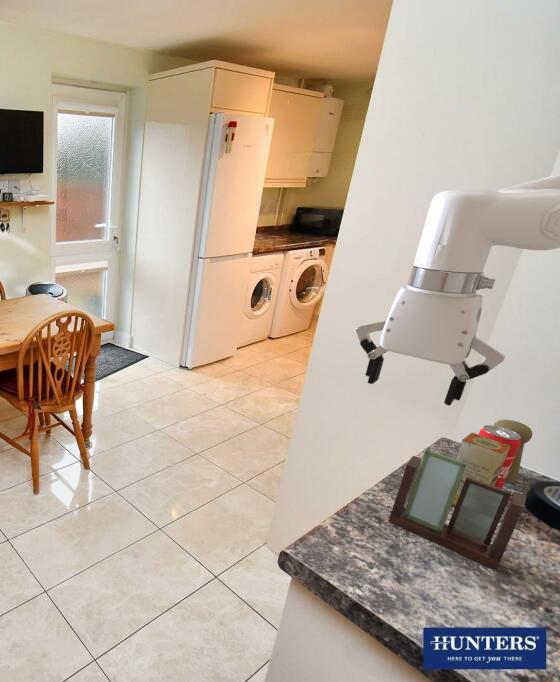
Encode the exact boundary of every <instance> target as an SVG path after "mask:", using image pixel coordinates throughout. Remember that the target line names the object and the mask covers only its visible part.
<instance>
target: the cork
mask: <svg viewBox="0 0 560 682" xmlns="http://www.w3.org/2000/svg"><path fill="white" fill-rule="evenodd" d="M492 426H498V427H502V428H506V429H508V430H511V431H513V432H515V433H517V434H518V435H519V436H520V441H521V443H520V446H519V448H518V451H517V453H516V455H515V458H514V460H513V463H512V465H511V467H510V470H509V472H508V475H507V477H506V480H505V482H504V483H508V484H509V483H510V484H512V483H516V482H518V478H519V473H520V468H521V463H522V458H523V454H524V453H523V452H524V448H525V447H524V446H525V444H526V443H528V442H530V441H531V439H532V438H533V430H532V428H530V427H529V426H528V425H526V424H524V423H522V422H519V421H515V420H511V419H499V420H497V421H496V422H494V424H493V425H492Z"/></svg>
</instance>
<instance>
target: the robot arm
mask: <svg viewBox="0 0 560 682" xmlns="http://www.w3.org/2000/svg"><path fill="white" fill-rule="evenodd" d="M493 246H503V247H510V248H515V249H520V250H528V251H551V250H556V249H560V173H558V174H554V175H550V176H546V177H545V176H544V177H542V178H538V179H535V180H530V181H526V182H523V183H519V184H515V185H511V186H508V187H505V188H501V189H497V190H489V189H447V190H443V191H440V192H437V194H435V195H434V196H433V197H432V200H431V202H430V204H429V207H428V211H427V214H426V218H425V222H424V224H423V230H422V232H421V237H420V240H419V243H418V247H417V251H416V253H415V257H414V261H413V265H412V268H411V271H410V275H409V279H408V282H407V284H404V285H402V286H401V287H400V289H399V291H398V292H397V294H396V296H395V299H394V301H393V303H392V305H391V307H390V310H389V313H388V315H387V316H386V320H383V321H378V322H375V323H370V324H365V325H360V326H358V327H357V328H356V329H355V333H356V335H357V338H358V340H359V345H360V347H361V348H362V349H363V351H364V352H365V353H366V355H367V358H368V359H369V361H368V363H367V367H366V371H365V376H366V377H368V379H367V384H370V385H372V384H373V385H374V384H375V383H376V382H377V381H378V380H379V379H380V374H381V371H382V368H383V364H384V361H385V358H384V356H383V355H384V354H386V353H388V352H390V353H395V354H399V355H404V356H406V357H407V356H408V357H412V358H417V359H420V360H424V361H429V362H434V363H439V364H443V365H444V364H445V365H448V366H449V367H450V368H451V370H452V371H453V373H454V376H453V378H452V379H451V381H450V383H449V387H448V390H447V392H446V396H445V399H444V402H443V404H445V405H446V406H449V407H450V406H451V405H452V404H453V402H454V400H455V401H460V400H461V398H462V395H463V393H464V391H465V387H466V384H467V382H468V381H470V380H472V379H475V378H477V377H480V376H483V375H486V374H487V373H488V372H490V371H491V370H493V369H494V368H496V367H497V366H498V365H500V364H501V363H503V362H504V360H505V358H506V356H505V355H504V354H503V353H502V352H500V351H499V350H497V349H495V348H493V347H492V346H491V345H489V344H488V343H487V342H484V341H483V340H482V339H480V338H479V337H477V336H476V335H477V331H478V328H479V323H480V321H481V320H480V319H481V315H482V309H483V297H484V296H483V295H482V294H479V293H477V292H478V291H480V290H485V289H489V290H493V288H494V286H495V283H496V279H495V278H489V277H488V276H486V275H485V274H484V270H485V266H486V265H487V264H486V263H487V261H488V259H489V255H490V252H491V249H492V247H493ZM376 332H381V335H380V338H379V344H380V345H379V346H377V345H376V344H375V343H374V341H373V340H372V339H371V336H370V334H372V333H376ZM472 350H474V351H475V352H476V353H478V354H480V355H481V356H483V357H484V358H485V360H483V361H482V362H480V363H479V364H475V365H473V366H471V367H470V366H469V364H468V363H467V361H466V360H465V359H468V358H469V355H470V353H471V351H472Z"/></svg>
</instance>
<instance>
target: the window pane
mask: <svg viewBox="0 0 560 682" xmlns="http://www.w3.org/2000/svg"><path fill="white" fill-rule="evenodd" d="M421 459H422V460H421V463H420V466H419V469H418V472H417V475H416V478H415V481H414V484H413V487H412V490H411V493H410V496H409V499H408V502H407V505H406V509H405V512H404V515H403V516H405V517H407V518H409V519H412V520H414V521H416V522H419V523H421V524H423V525H425V526H428V527H430V528H432V529H435V530H437V531H439V532H442V530H443V527H444V524H445V523H446V522H447V519H448V517H449V513H450V511H451V508H452V505H453V504H452V503H453V500H454V497H455V495H456V492H457V489H458V487H459V484H460V481H461V479H462V476H463V473H464V471H465V468H466V465H467V463H465V462H462V461H460V460H457V459H456V458H454V457H451V456H449V455H448V456H447V455H445V454H441V453H438V452H436V451H433V450H430V449H428V448H425V450H424V452H423V456H422V458H421Z"/></svg>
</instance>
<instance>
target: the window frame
mask: <svg viewBox="0 0 560 682" xmlns="http://www.w3.org/2000/svg"><path fill="white" fill-rule="evenodd" d="M421 461H422V458H421V457H418V456H415V455H412V456H411V457H410V459H409V461H408V462H407V463H406V465H405V469H404V472H403V475H402V478H401V481H400V483H399V487H398V490H397V493H396V496H395V499H394V503H393V505H392V509H391V512H390V515H389V518H388V523H391V524H392V525H395V526H398V527H400V528H402V529H404V530H406V531H408V532H410V533H413V534H415V535H417V536H419V537H421V538H424V539H426V540H428V541H430V542H433V543H435V544H437V545H439V546H441V547H444V548H446V549H448V550H451V551H452V552H455V553H456V554H459V555H460V556H463V557H466V558H468V559H470V560H471V561H474V562H477V563H478V564H481V565H483V566H486V567H488V568H490V569H492V570H494V571H497V570H498V568H499V566H500V563H501V561H502V559H503V556H504V554H505V552H506V549H507V548H508V545H509V543H510V541H511V539H512V536H513V533H514V531H515V529H516V527H517V524H518V522H519V520H520V518H521V515H522V513H523V511H524V508H525V504H526V498H527V495H525V494H523V493H520V492H517V491H514V492H513V494H512V492H511V491H508V490H505V489H504V488H502V489H500V488H498V487H495V486H492V485H489V484H486V483H484V482H481V481H478V480H475V479H472V478H470V477H466V479H465V482H464V485H463V487H462V490H461V493H460V495H459V498H458V501H457V503H456V506H455V505H454V509H453V512H452V514H451V517H450V519H449V522H448V524H444V527H443V530H442V532H439V531H437V530H435V529H432V528H430V527H428V526H425V525H423V524H421V523H419V522H416V521H414V520H412V519H409V518H407V517H405V516H403V515H404V512H405V509H406V506H407V503H408V500H409V497H410V494H411V491H412V488H413V485H414V482H415V479H416V476H417V473H418V470H419V467H420V464H421ZM511 494H512V496H511ZM510 497H511V499H510ZM509 500H510V501H509ZM508 501H509V504H508ZM507 504H508V505H507ZM506 507H507V508H506ZM505 508H506V510H505ZM504 511H505V513H504ZM503 513H504V516H503ZM502 516H503V518H502ZM501 518H502V520H501ZM500 521H501V522H500ZM499 523H500V525H499ZM498 526H499V528H498V530H497V527H498ZM496 530H497V532H496ZM495 533H496V535H495ZM494 535H495V537H494ZM493 537H494V539H493ZM492 539H493V541H492ZM491 542H492V543H491Z"/></svg>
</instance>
